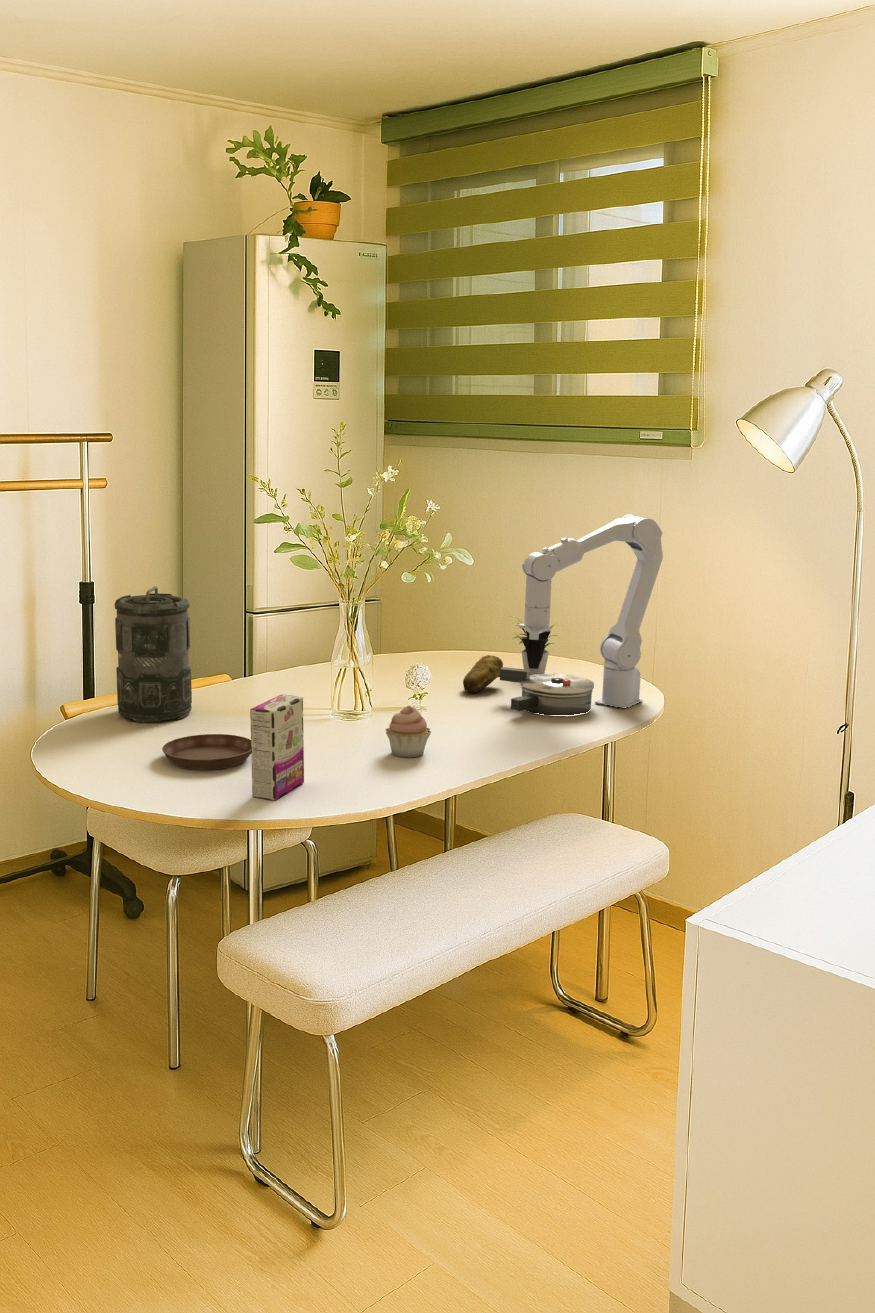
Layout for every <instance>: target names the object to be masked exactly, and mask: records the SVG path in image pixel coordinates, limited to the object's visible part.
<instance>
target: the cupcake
mask: <svg viewBox="0 0 875 1313" xmlns="http://www.w3.org/2000/svg"><path fill="white" fill-rule="evenodd" d="M388 725H389V727H387V728H385V734H386V736H387V738H388V741H389V745H390V752H391V753H392V754H393V756H396V757H400V758H405V759H408V758H418V757H420V756H422V755H423V754H424V753H425V749H426V745H427V742H428V739H429V737H430V735H431V733H432V731H431V728H430V727H428V725H427V722H426V719H425V718H424V717H423V716H422V714H421V712H419V710H418V709H416V707H414V706H411V705H407V706H404V708H403V709H401V710H400V712H397V713H394V714H393V715H392V717H391V721H390V723H389V724H388Z"/></svg>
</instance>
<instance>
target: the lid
mask: <svg viewBox="0 0 875 1313" xmlns="http://www.w3.org/2000/svg"><path fill="white" fill-rule="evenodd" d="M499 681H503V682H511V683H520V686H521V688H522V687H524V688H525V689H528V690H531V691H535V692H540V693H547V694H580V693H585V692H589V691H591V690H593V691H594V689H595V682H594V681H592V680H591V679H588V678H587V677H582V676H579V675H573V674H566V673H565V674H564V673H545V674H536V675H530V670H527V669H524V668H516V667H515V668H514V667H507V666H503V668H501V669H500V677H499Z"/></svg>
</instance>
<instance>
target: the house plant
mask: <svg viewBox="0 0 875 1313" xmlns="http://www.w3.org/2000/svg"><path fill="white" fill-rule="evenodd" d="M510 617H512V618H514V619H517V620H515V622H517V621H519V623H518V622H517V624H518V625H515V626H517V627H519V624H524V623H523V621H520V619H519V618H518V617H515V616H511V615H510ZM515 622H511V623H512V624H513V623H514V624H515ZM557 622H558V621H556V623H554V624H552V625H550V630H551V629H552V628H553V627H554V626H555V625H557V624H558V623H557ZM521 629H522V631H523V632H524V633H519V634H517V633H515V632H513V634H514V635H516V636H514V637H513V638H512V640H514V639H519V640H520V641H519V643H518V645H521V644H523V642H522V637H523V636H524V637H528V636H527V634H526V630H525V629H524V628H521ZM519 635H521V636H519ZM554 636H557V637H558V635H557V634H554V635H553V634H552V635H549V636H548V638H547V642H546V644H545V647H544V652H543V657H542V660H541V662H540V665H539V668H538V669H531V668H529V666H528V659H527V653H526V649H525V648H523V649H521V658H522V667H523V668H522V669H527V670H530V675H536V674H546V669H547V663H548V659H549V658H548V657H549V654H550V651H549V650H548V649H546V648H547V646H550V645H551V644H553V645H556V644H555V643H554V642H548V641H550V639H549V638H551V637H554Z"/></svg>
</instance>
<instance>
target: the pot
mask: <svg viewBox="0 0 875 1313" xmlns="http://www.w3.org/2000/svg"><path fill="white" fill-rule="evenodd" d="M593 691H594V689H593V690H591V691H589V692H585V693H580V694H547V693H540V692H535V691H531V690H528V689H525V688H524V687H522V686H521V696H517V697H512V698H510V709H511V710H513V711H517V712H522V711H525V710H526V711H525V712H527V711H529V712H528V713H530V712H531V714H533V713H539V714H544V715H574V714H580V713H586V712H588V711H589V710H590V709H591V710H592V697H593V696H592V694H593Z"/></svg>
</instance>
